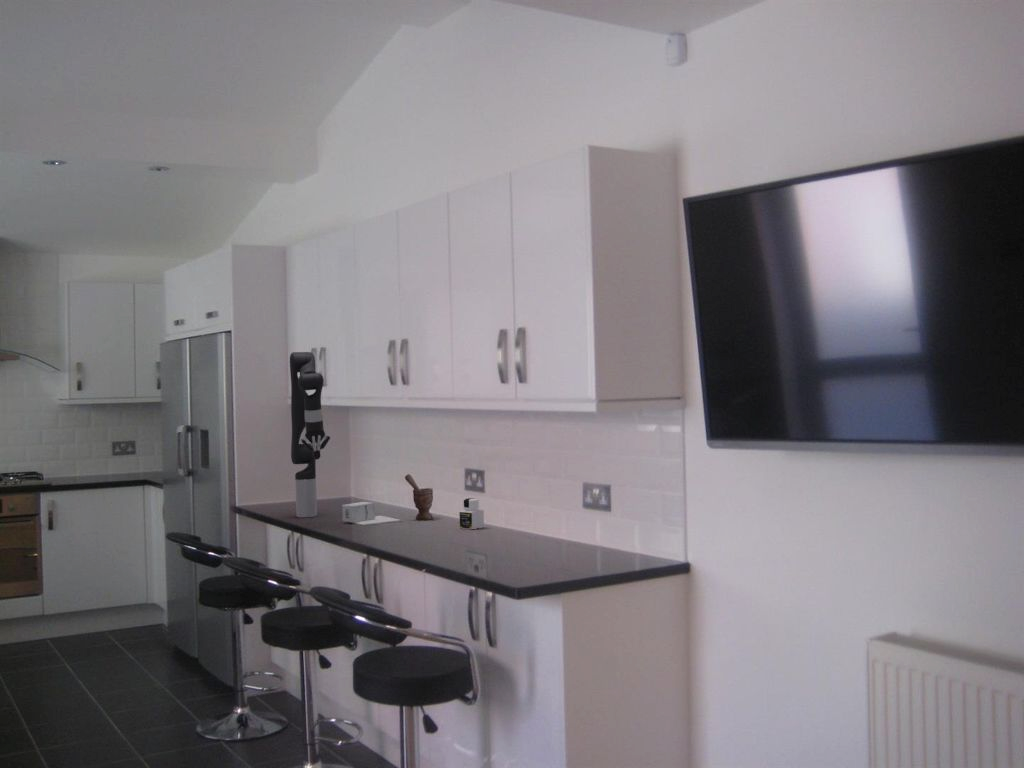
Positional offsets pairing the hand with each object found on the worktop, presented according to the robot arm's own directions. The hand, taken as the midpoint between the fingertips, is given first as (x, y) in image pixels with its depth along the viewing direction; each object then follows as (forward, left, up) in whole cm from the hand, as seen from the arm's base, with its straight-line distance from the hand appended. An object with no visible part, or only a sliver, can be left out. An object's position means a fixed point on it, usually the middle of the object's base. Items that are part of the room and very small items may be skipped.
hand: (316, 458), depth 452 cm
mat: (+8, +21, -28) cm, 36 cm away
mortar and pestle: (+19, +39, -28) cm, 52 cm away
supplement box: (+7, +10, -24) cm, 27 cm away
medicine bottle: (+58, +42, -28) cm, 77 cm away
